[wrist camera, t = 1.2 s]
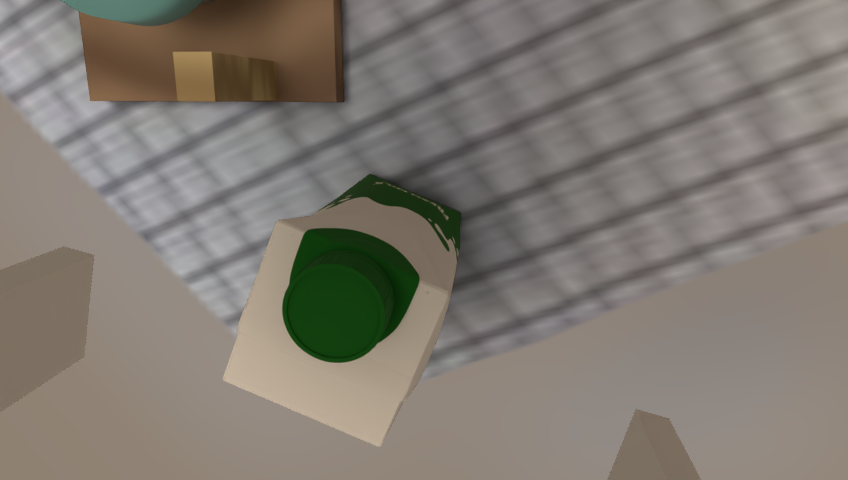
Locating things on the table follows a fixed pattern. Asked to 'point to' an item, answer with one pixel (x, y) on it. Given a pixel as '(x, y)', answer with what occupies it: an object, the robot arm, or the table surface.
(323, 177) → the table surface
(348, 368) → the milk carton
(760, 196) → the table surface
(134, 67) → the post base
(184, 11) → the teal handled round piece
